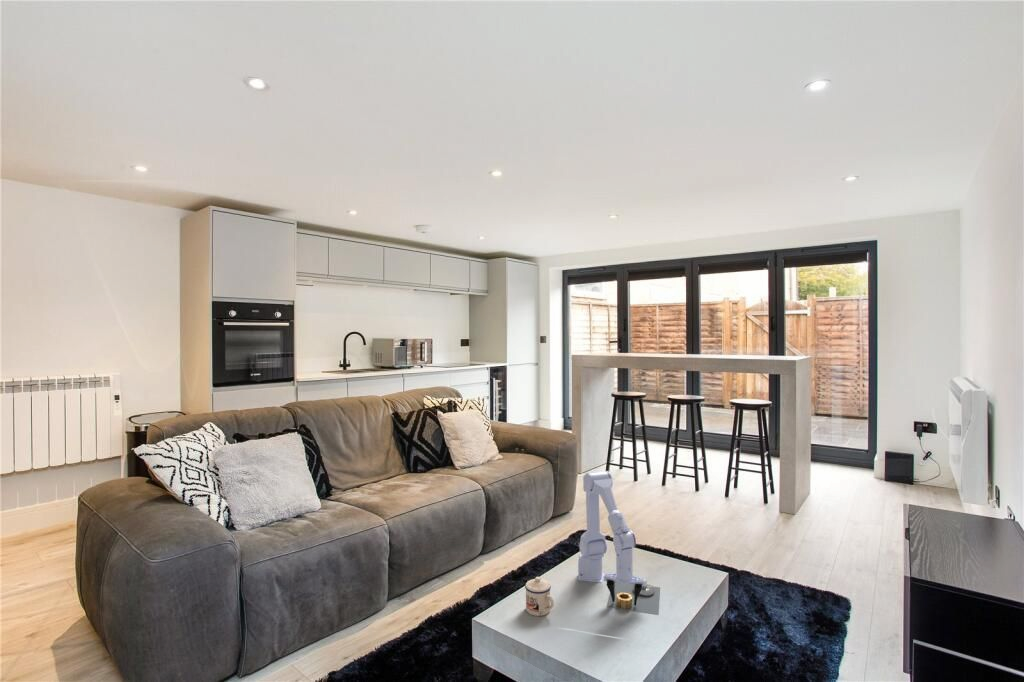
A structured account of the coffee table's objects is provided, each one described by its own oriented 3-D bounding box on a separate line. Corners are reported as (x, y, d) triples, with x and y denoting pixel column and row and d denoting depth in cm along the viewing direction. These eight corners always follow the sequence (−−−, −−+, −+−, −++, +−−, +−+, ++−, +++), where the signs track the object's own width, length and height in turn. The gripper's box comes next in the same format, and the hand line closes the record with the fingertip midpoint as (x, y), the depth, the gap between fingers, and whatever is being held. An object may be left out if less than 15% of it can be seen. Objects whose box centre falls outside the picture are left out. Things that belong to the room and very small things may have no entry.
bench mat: (606, 607, 188) (606, 606, 188) (613, 581, 207) (613, 580, 207) (658, 616, 183) (658, 614, 183) (660, 588, 202) (660, 587, 202)
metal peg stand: (631, 595, 196) (631, 584, 196) (633, 584, 204) (633, 574, 204) (653, 598, 194) (653, 587, 194) (654, 587, 201) (654, 577, 201)
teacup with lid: (520, 609, 188) (519, 577, 187) (538, 600, 194) (537, 569, 193) (544, 623, 179) (543, 589, 178) (562, 613, 185) (561, 581, 184)
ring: (615, 607, 187) (615, 599, 187) (617, 600, 193) (617, 591, 192) (631, 610, 186) (631, 601, 186) (632, 602, 191) (632, 593, 191)
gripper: (602, 567, 187) (602, 605, 187) (644, 573, 183) (644, 611, 183) (605, 559, 194) (605, 595, 194) (645, 564, 189) (645, 601, 190)
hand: (624, 602), depth 189 cm, fingers open, 7 cm apart
